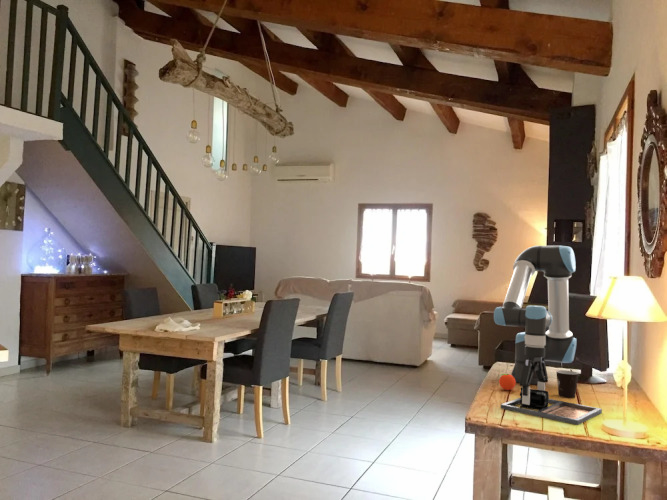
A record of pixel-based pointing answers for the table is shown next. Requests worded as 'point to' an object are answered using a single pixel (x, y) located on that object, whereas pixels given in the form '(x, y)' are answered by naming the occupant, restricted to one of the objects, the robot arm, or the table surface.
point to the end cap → (536, 399)
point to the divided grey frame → (558, 411)
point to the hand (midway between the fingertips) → (533, 401)
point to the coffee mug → (567, 383)
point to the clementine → (507, 381)
